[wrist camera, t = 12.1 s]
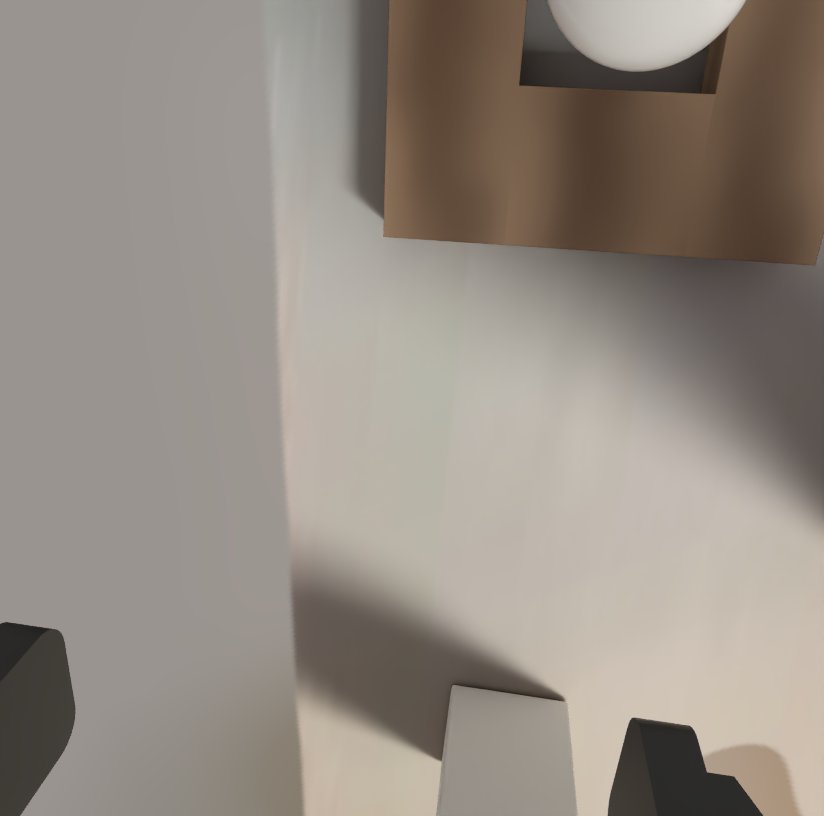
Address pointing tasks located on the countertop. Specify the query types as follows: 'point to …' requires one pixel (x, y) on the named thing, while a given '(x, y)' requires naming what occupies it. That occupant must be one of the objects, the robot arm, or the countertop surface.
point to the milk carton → (506, 756)
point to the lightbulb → (642, 29)
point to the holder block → (606, 141)
